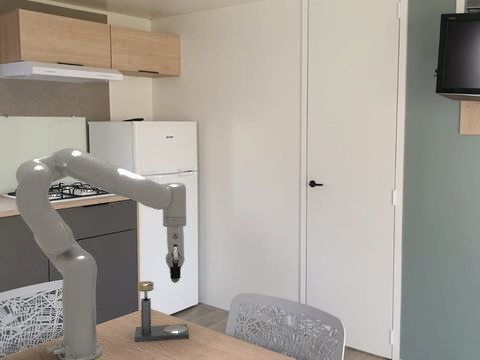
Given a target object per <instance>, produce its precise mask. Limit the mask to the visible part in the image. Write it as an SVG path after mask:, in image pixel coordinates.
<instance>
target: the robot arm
mask: <svg viewBox="0 0 480 360" xmlns="http://www.w3.org/2000/svg"><path fill="white" fill-rule="evenodd" d="M67 177H69V178H71V179H74V180H76V181H79V182H81V183H84V184H86V185H89V186H91V187H94V188H96V189H99V190H101V191H104V192H106V193H109V194H112V195H114V196H115V195H116V196H120V197H123V198H126V199H129V200H133V201H134V202H137V203H139V204H141V205H143V206H145V207H148V208H150V209H154V210H157V211H158V210H159V211H160V210H162V226H163V227H165V228H166V244H167V254H168V253H169V257H170V258H171V266H170V269H169V274H170V279H179V280H180V279H181V270H180V256H182V257H184V258H185V247H184V246H185V239H184V238H185V236H184V235H185V234H184V227H186V226H187V187H186V185H185V183H182V182H168V183H159V182H156V181H154V180H151V179H149V178H147V177H144V176H141V175H139V174H137V173H134V172H132V171H130V170H128V169H126V168H124V167H122V166H119V165H117V164H115V163H112V162H109V161H108V160H105V159H103V158H100V157H98V156H96V155H95V154H91V153H89V152H87V151H85V150H83V149H79V148H72V147H66V148H62V149H59V150H57V151H53V152H51V153H48V154H45V155H42V156H38V157H36V158H33V159H30V160H27V161H24V162H22V163H21V164H20V165H19V166H18V167H17V169H16V172H15V178H16V182H17V183H18V185H17V187H16V190H15V204H16V208H17V210H18V213H19V215H20V216H21V217H22V220H23V221H24V222H25V223H26V225H27V226H28V228H29V229H30V231H31V232H32V233H33V237H34V241H35V242H36V244H37V246H39V248H40V250H41V251H42V252H43V253H44V254H45V255H46V257H47V259H48V260H49V261H50V262H51V264H52V265H53V266H54V267H55V269H56V270H57V271H58V272H59V274H61V275H62V288H61V306H62V307H61V310H62V338H63V339H60V343H57V345H51V346H46V354H47V355H48V354H53V356H56V355H57V358H58V359H59V360H95V359H97V358H98V357H100V356H101V355H102V353H103V347H102V346H101V345H100V344H99V343H98V342H97V339H98V338H97V306H96V305H97V302H96V301H97V299H96V298H97V297H96V295H97V294H96V293H97V292H96V288H97V287H96V286H97V284H96V283H97V276H98V266H97V263H96V260H95V258H94V256H93V255H92V254H91V253H89V252H88V251H87V250H85V249H83V248H82V247H81V246H80V244H79V243H78V242H77V240H76V239H75V238H74V234H73V231H72V229H71V227H70V226H69V225H68V224H67V223H66V222H65V221H64V220H63V219H64V218H62V217H61V216H60V214H59V212H58V211H57V210H56V207H54V205H53V204H52V203H51V201H50V197H49V191H50V187H52V183H55V182H57V181H59V180H62V179H66V178H67ZM172 255H174V257H172ZM173 259H174V260H173Z"/></svg>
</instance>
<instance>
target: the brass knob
mask: <svg viewBox="0 0 480 360" xmlns="http://www.w3.org/2000/svg"><path fill="white" fill-rule="evenodd" d="M137 291H138V292H142V293H143V294H144V295H143V299H144V301H147V298H148V292H152V291H154V282H153V281H149V280H145V281H143V280H142V281H140V282H138V283H137Z"/></svg>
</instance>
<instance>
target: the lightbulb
mask: <svg viewBox="0 0 480 360" xmlns="http://www.w3.org/2000/svg"><path fill="white" fill-rule="evenodd" d="M172 257H174V255H172ZM173 260H174V259H173ZM184 262H185V256H184V257H182V256H180V271H181V269H182V267H183V265H184ZM165 263H166V265H167V266H168V269H169V270H170V266H171V258H170V257H169V253H168V252H167V253H166V255H165ZM170 279H171V278H170ZM179 281H180V279H171V282H173V283H174V284H177V283H178V282H179Z"/></svg>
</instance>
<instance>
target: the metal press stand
mask: <svg viewBox="0 0 480 360" xmlns="http://www.w3.org/2000/svg"><path fill="white" fill-rule="evenodd" d="M140 299H141V300H140V308H141V309H140V310H141V311H140V313H141V315H140V318H141V320H140V321H141V326H135V333H134V342H135V343H136V342H150V341H154V342H155V341H170V340H184V339H185V340H188V339H190V338H189V328H188V324H187V323H181V324H162V325H161V324H160V325H152V306H151V305H152V304H151V303H152V301H151V299H152V298H148V297H147V301H144V298H140Z"/></svg>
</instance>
